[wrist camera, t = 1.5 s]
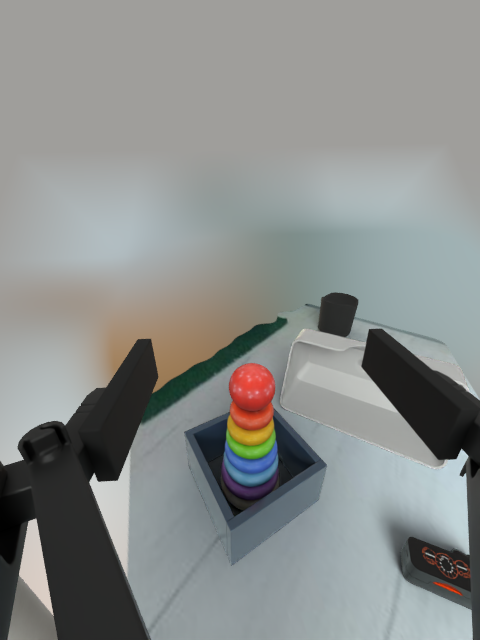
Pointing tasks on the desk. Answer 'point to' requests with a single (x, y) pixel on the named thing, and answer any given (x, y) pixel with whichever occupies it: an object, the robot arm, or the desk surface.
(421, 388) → the robot arm
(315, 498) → the square holder
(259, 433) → the stacking toy
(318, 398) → the light grey open box
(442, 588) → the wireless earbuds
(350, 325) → the pen holder
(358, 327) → the desk surface
